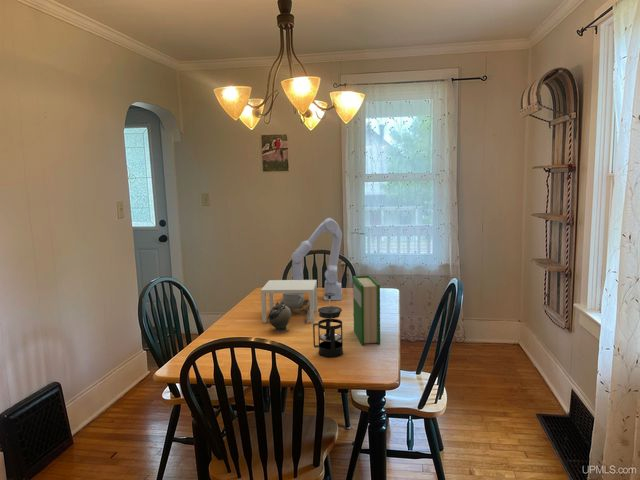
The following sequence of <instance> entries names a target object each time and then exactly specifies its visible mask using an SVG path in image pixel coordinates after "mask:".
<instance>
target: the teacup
mask: <svg viewBox="0 0 640 480" xmlns="http://www.w3.org/2000/svg"><path fill="white" fill-rule="evenodd" d="M304 294H305V293H282V298H283V303H284V305H286V306H287V307H288V308H289V309H301V306H303V302H304V300H305V295H304Z"/></svg>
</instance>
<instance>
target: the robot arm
mask: <svg viewBox="0 0 640 480" xmlns="http://www.w3.org/2000/svg"><path fill="white" fill-rule="evenodd" d="M327 231H329V232H330V233H331V235H332V241H331V246H330V247H331V248H330V253H329V259H328V264H327V266H326V267H327V269H326V270H325V271H324V278H325V281H324V294H325V293H334V294H335V295H334V296H331V299H330V301H341V300H342V297H343V291H342V282H339V281H338V278H339V277H338V263H339V257H340V253H341V245H342V240H343V239H342V238H343V231H342V230H341V228H340V225H339V223H338V222H336V220H335V219H333V218H332V217H327V218H325V219H324V220H323V221H322V222H321V223H320V224H319V225H318V226H317V227H316V229H315V230H314V232H313V233H311V235H310V237H308V239H307V240H303V241H301V242H300V245H299V246H298V247H297V248H295V250H294V252H292V254H291V260H292V262H291V273H292V279H291V280H304V269H303V260H304V257H306V256H307V255H308V253H309V252H310V251H311V250H312V248H313V243H314V242H316V240H317V239H318V238H319V237H321V234H324V233H327ZM323 296H324V298H323V301H329V299H328V296H325V295H323Z"/></svg>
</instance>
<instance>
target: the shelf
mask: <svg viewBox="0 0 640 480" xmlns="http://www.w3.org/2000/svg"><path fill="white" fill-rule="evenodd" d="M317 280H318V279H303V280H293V279H274V280H273V279H272V280H271V279H269V280H268V281H267V282H266V283H265V285H264V286H263V287H262V288H261V289H260V295H261V296H260V297H261V298H260V300H261V320H262V321H261V323H263V324H266V323H267V322H268V323H270V322H269V321H268V317H267V316H268V315H267V313H268V312H267V294H268V300H269V302H268V303H269V304H268V305H269V312H270V311H271V310H272V308H273V307H275V305H274V302H275V301H274V294H283V293H304V294H308V295H309V298H308V300H309V301H310V307H309V310H308V313H307V314H306V316H305V321H304V322H305V323H306V324H308V321H309V323H310V324H314V323H315V312H318V283H317V282H318V281H317ZM282 300H283V297H281V300H280V301H279V302H278V304H280V303H281V301H282Z"/></svg>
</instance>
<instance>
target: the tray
mask: <svg viewBox="0 0 640 480" xmlns="http://www.w3.org/2000/svg"><path fill="white" fill-rule="evenodd" d="M280 301H281V300H280ZM279 303H280V302H279ZM280 304H283V305H284V303H283V300H282V301H281V303H280ZM303 305H305V308H296V309H290V308H289V309H290V311H291V315H307V314H308V311H309V308H310V301H309V299H304V302H303ZM303 305H302V306H303Z"/></svg>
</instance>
